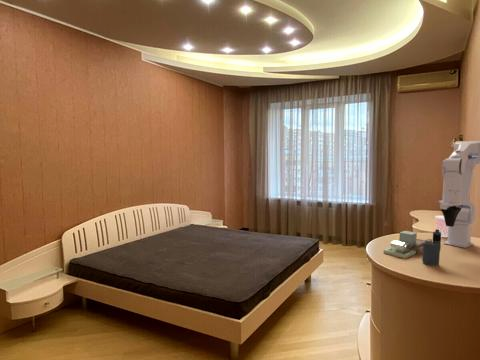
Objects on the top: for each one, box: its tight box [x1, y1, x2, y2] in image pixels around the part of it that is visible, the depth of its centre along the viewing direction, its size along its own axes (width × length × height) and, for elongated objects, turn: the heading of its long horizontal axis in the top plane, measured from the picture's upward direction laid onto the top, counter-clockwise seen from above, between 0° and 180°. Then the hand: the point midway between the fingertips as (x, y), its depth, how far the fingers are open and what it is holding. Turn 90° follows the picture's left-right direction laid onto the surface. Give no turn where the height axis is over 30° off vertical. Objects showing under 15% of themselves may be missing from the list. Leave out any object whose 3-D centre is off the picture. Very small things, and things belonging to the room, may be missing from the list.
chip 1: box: [390, 240, 405, 254], centre depth 121 cm, size 4×4×2 cm
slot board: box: [410, 238, 433, 255], centre depth 129 cm, size 14×10×3 cm, turn 128°
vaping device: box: [421, 228, 442, 266], centre depth 110 cm, size 3×5×12 cm, turn 79°
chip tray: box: [383, 246, 417, 259], centre depth 122 cm, size 9×8×1 cm
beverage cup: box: [434, 214, 448, 238], centre depth 146 cm, size 6×6×14 cm
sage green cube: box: [398, 230, 417, 248], centre depth 126 cm, size 4×4×5 cm
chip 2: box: [400, 241, 410, 253], centre depth 123 cm, size 4×4×2 cm
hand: (449, 226), depth 123 cm, fingers closed
